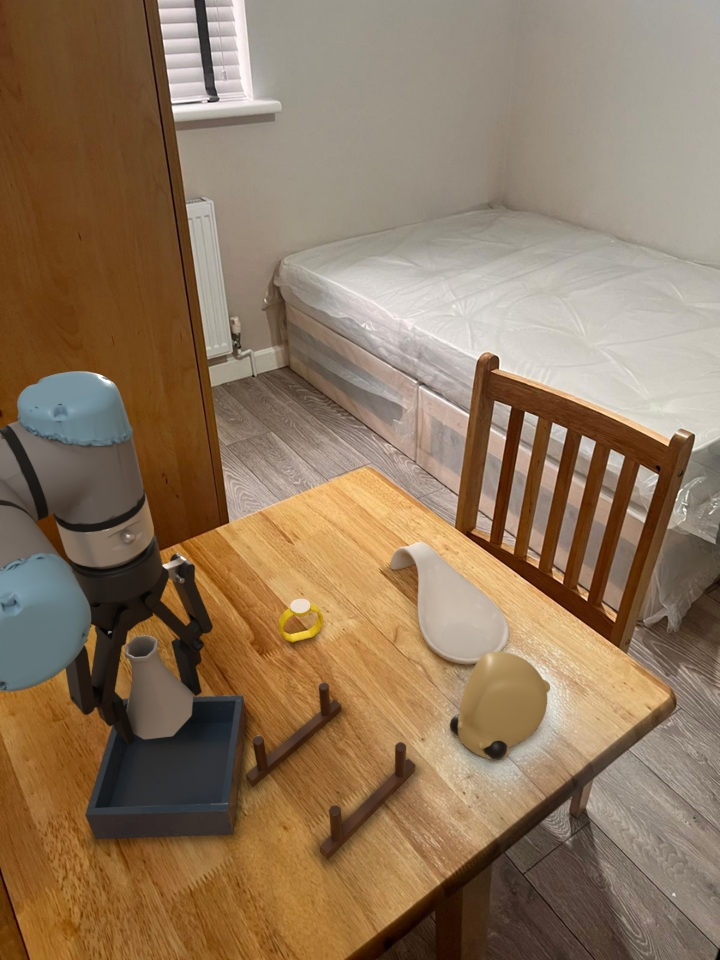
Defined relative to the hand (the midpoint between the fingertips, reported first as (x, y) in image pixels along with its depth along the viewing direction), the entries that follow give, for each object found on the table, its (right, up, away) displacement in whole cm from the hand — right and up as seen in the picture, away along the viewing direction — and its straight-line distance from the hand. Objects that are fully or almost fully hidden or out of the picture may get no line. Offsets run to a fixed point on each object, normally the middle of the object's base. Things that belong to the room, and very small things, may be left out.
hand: (159, 710), depth 77 cm
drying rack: (+18, -9, +6) cm, 21 cm away
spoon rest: (+32, +5, +26) cm, 42 cm away
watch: (+13, +2, +24) cm, 27 cm away
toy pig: (+38, -6, +11) cm, 40 cm away
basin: (0, -9, +7) cm, 11 cm away
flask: (0, 0, 0) cm, 0 cm away
